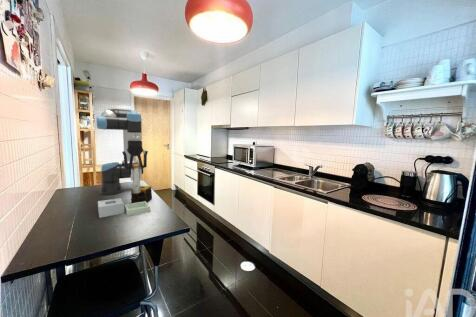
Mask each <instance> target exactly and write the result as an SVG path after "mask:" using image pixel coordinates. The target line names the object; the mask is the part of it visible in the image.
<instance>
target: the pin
mask: <svg viewBox="0 0 476 317" xmlns="http://www.w3.org/2000/svg"><path fill="white" fill-rule="evenodd" d="M132 169H133V181H132V189H133V193H140V186H141V180H140V164H139V162H138V163H135V164H132Z"/></svg>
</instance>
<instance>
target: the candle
mask: <svg viewBox="0 0 476 317" xmlns="http://www.w3.org/2000/svg"><path fill="white" fill-rule="evenodd" d="M130 192H131V194H130V196H131V198H130V202H131V203H137V202H144V201H146V202H147V204H148V203H149V202H151V201H152V199H153V193H152V192H153V191H152V185H140V193H133V188H131V189H130ZM131 203H130V204H131Z"/></svg>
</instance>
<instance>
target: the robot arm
mask: <svg viewBox="0 0 476 317" xmlns="http://www.w3.org/2000/svg"><path fill="white" fill-rule="evenodd" d="M142 121H143V120H142V114H140V113H138V111H137V110H133V109H121V108H120V109H118V108H110V109H105V110H104V111H102V112H101V114H100V115H97V116H96V128H97V129H98V130H114V131H115V130H118V131H120V130H121V131H122V135H123V136H122V138H123V139H122V140H123V142H122V143H123V150H122V155H123V160H122V161H121V163H119V162H118V161H115V162H107V163H105V164H104V163H103V164H102V165H101V167H100V168H101V169H100V170H101V186H100V190H99V194H100V195H103V196H111V195H116V194H120V193H122V192H123V187H122V185H121V182H120V179H121V180H122V179H130V181H132V182H133V169H132V164H135V163H139V164H140V181H142V180H143V179H142V175H143V174H144V169H145V168H147V167H148V166H147V160H148V159H147V158H148V157H147V156H148V153H149V151H148V150H144V149H143V133H142V132H143V129H142V128H143V127H142V124H143V123H142ZM142 153H143V161H142V156H141V154H142Z"/></svg>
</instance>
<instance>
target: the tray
mask: <svg viewBox="0 0 476 317" xmlns="http://www.w3.org/2000/svg"><path fill="white" fill-rule="evenodd" d="M150 212H151V206H150V205H149V204H148V203H147V202H146V201H144V202H137V203H126V204H125V203H124V213H126V216H127V217H130V216H136V215H140V214H146V213H147V214H148V213H150Z"/></svg>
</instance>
